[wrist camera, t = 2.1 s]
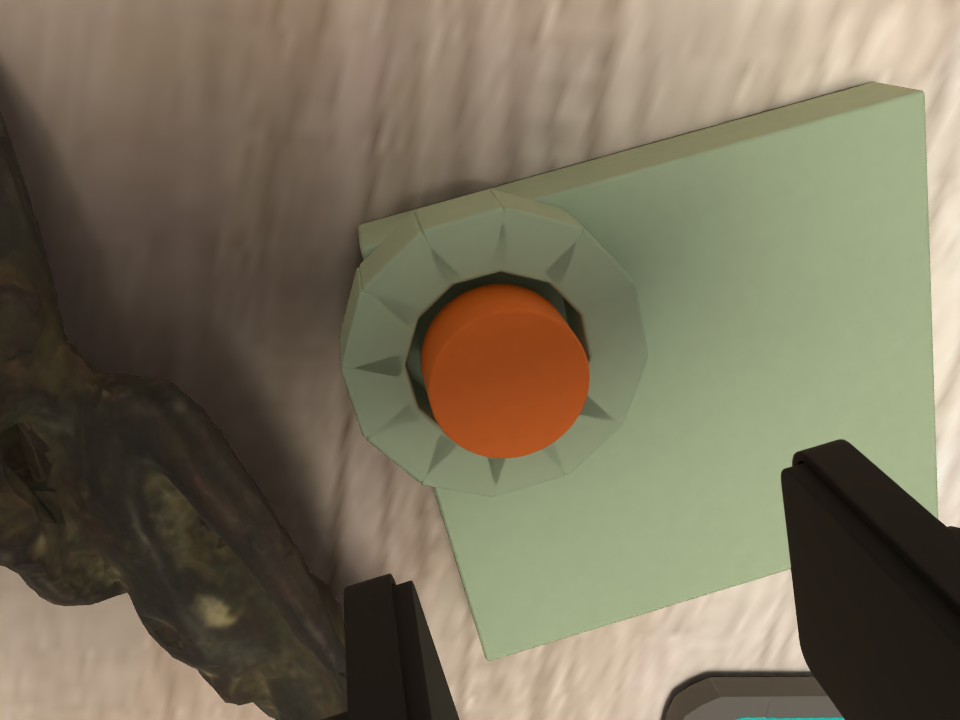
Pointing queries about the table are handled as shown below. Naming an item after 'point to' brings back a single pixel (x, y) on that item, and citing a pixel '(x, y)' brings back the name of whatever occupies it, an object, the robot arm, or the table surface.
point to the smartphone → (753, 700)
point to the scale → (668, 354)
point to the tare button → (503, 371)
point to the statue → (147, 504)
